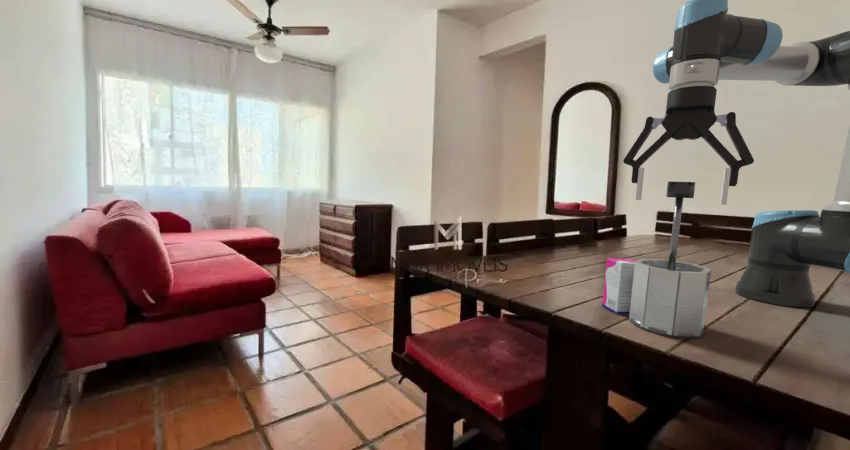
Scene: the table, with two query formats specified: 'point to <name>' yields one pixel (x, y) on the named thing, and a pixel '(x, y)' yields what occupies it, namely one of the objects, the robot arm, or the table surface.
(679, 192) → the plunger
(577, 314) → the table surface
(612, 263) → the supplement box
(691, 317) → the press body
